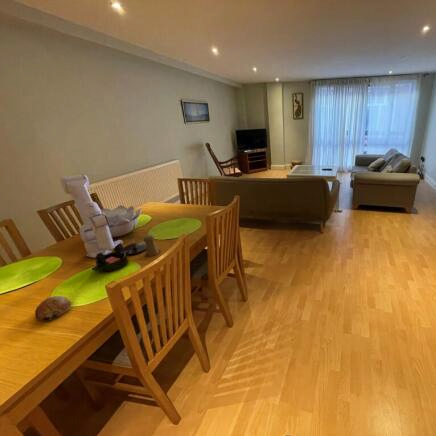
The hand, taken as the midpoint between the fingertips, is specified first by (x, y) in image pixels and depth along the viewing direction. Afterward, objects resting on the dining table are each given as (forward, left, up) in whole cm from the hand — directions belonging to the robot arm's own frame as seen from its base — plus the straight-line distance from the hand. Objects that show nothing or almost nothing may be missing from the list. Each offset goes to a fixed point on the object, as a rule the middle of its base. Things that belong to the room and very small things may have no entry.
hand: (112, 262), depth 122 cm
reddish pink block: (0, 0, -2) cm, 2 cm away
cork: (+9, +16, -2) cm, 18 cm away
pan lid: (-4, +16, -1) cm, 17 cm away
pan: (0, 0, -2) cm, 2 cm away
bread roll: (+10, -31, -2) cm, 33 cm away
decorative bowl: (-32, +28, -2) cm, 43 cm away
